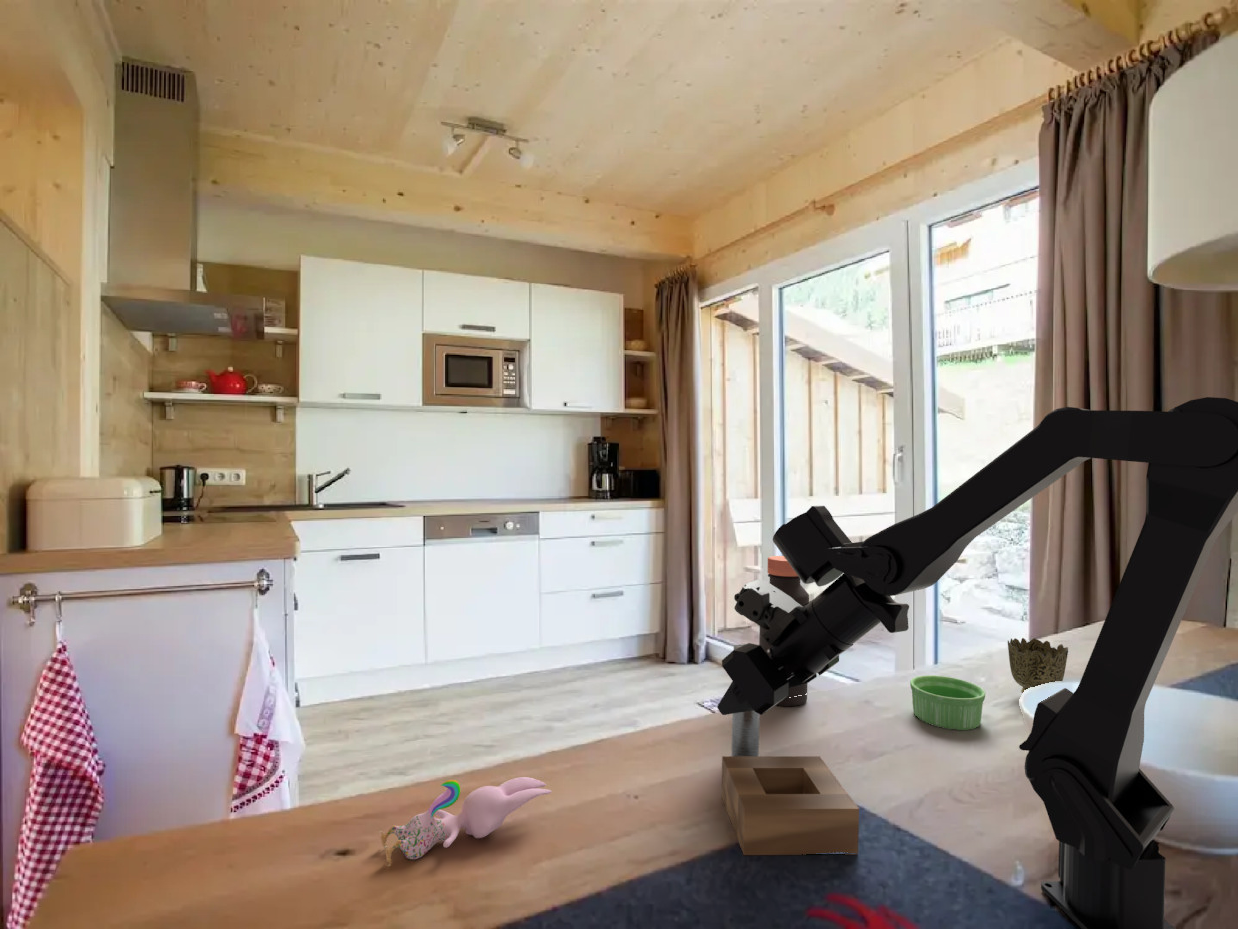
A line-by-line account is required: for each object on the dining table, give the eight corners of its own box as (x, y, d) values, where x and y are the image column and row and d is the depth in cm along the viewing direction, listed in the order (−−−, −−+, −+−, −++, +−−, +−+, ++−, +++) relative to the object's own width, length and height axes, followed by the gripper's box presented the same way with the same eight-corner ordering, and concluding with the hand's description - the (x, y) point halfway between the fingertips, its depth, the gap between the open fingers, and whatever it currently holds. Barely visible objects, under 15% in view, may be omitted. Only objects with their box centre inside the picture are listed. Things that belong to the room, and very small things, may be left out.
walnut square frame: (858, 854, 58) (859, 808, 58) (743, 855, 57) (744, 809, 57) (819, 795, 68) (819, 756, 68) (721, 795, 67) (722, 756, 67)
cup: (994, 693, 99) (995, 639, 98) (1030, 687, 101) (1031, 635, 101) (1042, 711, 92) (1043, 653, 91) (1079, 705, 94) (1080, 649, 94)
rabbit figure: (394, 896, 54) (563, 820, 61) (382, 826, 53) (554, 758, 60) (381, 854, 59) (538, 789, 66) (370, 791, 59) (530, 732, 65)
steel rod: (761, 770, 73) (764, 652, 73) (734, 770, 73) (736, 651, 73) (754, 757, 76) (757, 644, 76) (728, 757, 76) (731, 644, 76)
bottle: (817, 702, 94) (820, 560, 93) (780, 710, 90) (783, 563, 90) (784, 687, 100) (787, 553, 99) (748, 694, 96) (751, 556, 96)
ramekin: (894, 709, 92) (895, 677, 92) (949, 704, 94) (950, 673, 94) (942, 736, 83) (943, 701, 83) (1001, 729, 86) (1002, 695, 86)
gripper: (815, 550, 79) (730, 627, 86) (741, 570, 64) (646, 661, 71) (882, 628, 74) (786, 702, 81) (819, 668, 60) (709, 755, 67)
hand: (734, 702), depth 75 cm, fingers open, 6 cm apart
